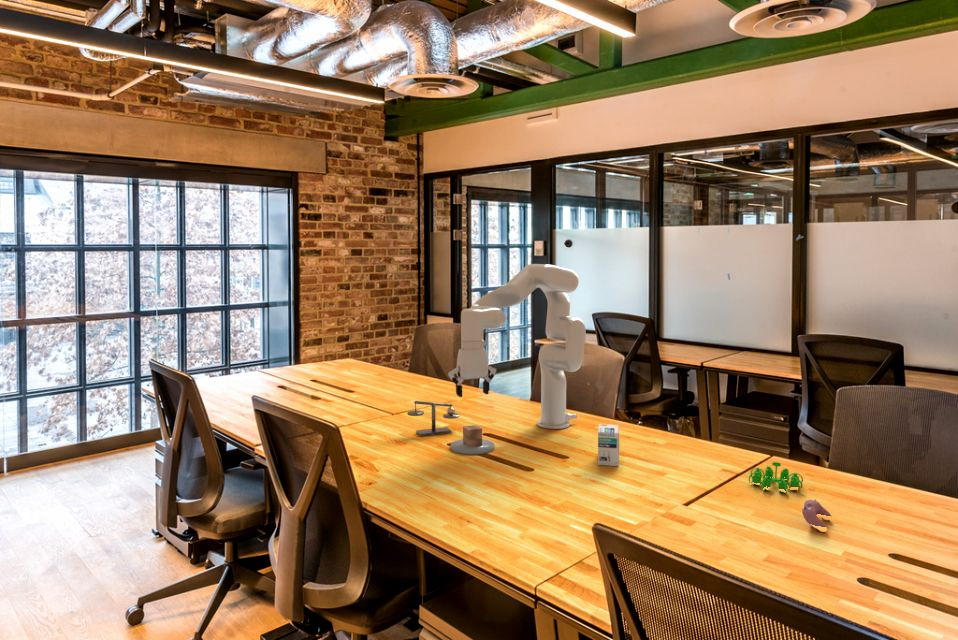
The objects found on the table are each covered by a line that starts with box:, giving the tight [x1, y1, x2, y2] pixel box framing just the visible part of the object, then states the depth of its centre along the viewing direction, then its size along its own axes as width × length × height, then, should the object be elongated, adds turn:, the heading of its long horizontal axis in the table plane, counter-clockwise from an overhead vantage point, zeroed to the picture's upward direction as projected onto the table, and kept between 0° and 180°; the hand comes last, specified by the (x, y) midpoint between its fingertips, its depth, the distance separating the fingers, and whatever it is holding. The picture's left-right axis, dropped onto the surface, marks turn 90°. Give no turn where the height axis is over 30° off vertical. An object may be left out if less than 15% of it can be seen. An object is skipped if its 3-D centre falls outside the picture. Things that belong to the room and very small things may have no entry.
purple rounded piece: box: [801, 499, 832, 527], centre depth 166 cm, size 10×5×7 cm, turn 146°
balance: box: [406, 400, 460, 437], centre depth 249 cm, size 20×6×13 cm, turn 113°
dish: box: [450, 438, 495, 456], centre depth 230 cm, size 15×15×1 cm
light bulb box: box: [597, 423, 620, 467], centre depth 216 cm, size 11×7×11 cm, turn 169°
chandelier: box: [748, 462, 804, 492], centre depth 193 cm, size 15×15×7 cm
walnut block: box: [462, 424, 483, 447], centre depth 230 cm, size 5×5×6 cm
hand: (472, 394), depth 229 cm, fingers open, 9 cm apart
